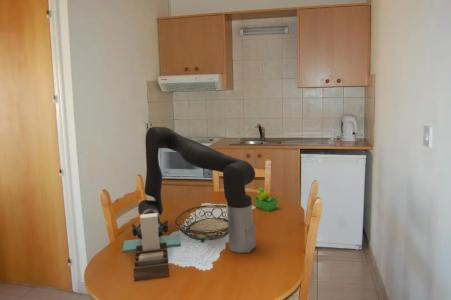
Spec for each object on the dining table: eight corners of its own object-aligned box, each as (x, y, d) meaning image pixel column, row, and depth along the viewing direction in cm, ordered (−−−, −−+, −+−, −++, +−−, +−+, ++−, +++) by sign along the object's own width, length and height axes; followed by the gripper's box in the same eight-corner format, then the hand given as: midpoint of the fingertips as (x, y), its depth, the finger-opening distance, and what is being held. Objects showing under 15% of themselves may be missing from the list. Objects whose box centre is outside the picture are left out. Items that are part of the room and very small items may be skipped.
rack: (137, 258, 139) (136, 245, 138) (167, 254, 141) (166, 242, 140) (134, 283, 120) (133, 268, 120) (169, 278, 122) (168, 264, 122)
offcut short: (140, 263, 132) (139, 254, 132) (163, 260, 134) (162, 251, 133) (140, 266, 130) (139, 257, 129) (163, 263, 131) (163, 254, 131)
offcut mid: (140, 268, 128) (139, 256, 128) (164, 265, 130) (163, 253, 129) (140, 272, 126) (138, 259, 125) (164, 268, 127) (163, 256, 127)
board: (124, 245, 152) (124, 240, 152) (179, 238, 156) (179, 234, 156) (122, 255, 142) (122, 250, 142) (181, 248, 146) (180, 243, 146)
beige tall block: (143, 256, 138) (140, 214, 136) (160, 254, 139) (157, 212, 137) (143, 261, 134) (139, 218, 132) (160, 259, 135) (157, 216, 133)
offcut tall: (139, 274, 124) (138, 258, 123) (164, 271, 126) (163, 255, 125) (139, 277, 122) (138, 261, 121) (164, 274, 123) (163, 258, 123)
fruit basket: (279, 209, 189) (278, 187, 187) (266, 213, 184) (265, 190, 182) (264, 204, 198) (264, 183, 197) (251, 208, 194) (250, 186, 192)
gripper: (130, 213, 147) (128, 227, 131) (168, 209, 150) (170, 222, 133) (132, 231, 148) (130, 248, 132) (169, 227, 151) (171, 243, 135)
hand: (150, 235), depth 133 cm, fingers closed on beige tall block, 6 cm apart
